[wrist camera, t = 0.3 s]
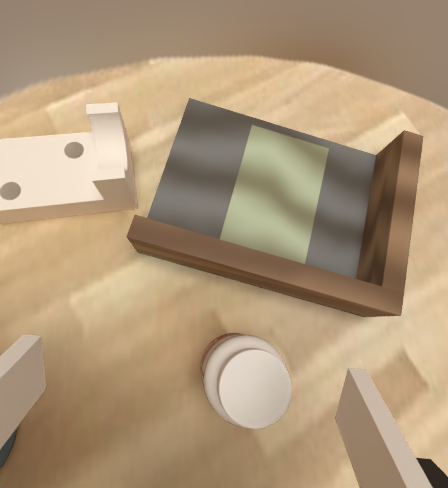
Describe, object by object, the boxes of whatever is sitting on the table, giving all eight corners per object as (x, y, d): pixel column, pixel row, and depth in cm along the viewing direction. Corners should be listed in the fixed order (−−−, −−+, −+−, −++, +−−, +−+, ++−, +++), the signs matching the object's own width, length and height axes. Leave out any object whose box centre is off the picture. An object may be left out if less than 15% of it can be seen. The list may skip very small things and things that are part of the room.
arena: (364, 316, 33) (401, 315, 28) (137, 252, 32) (126, 236, 27) (387, 164, 38) (423, 136, 32) (189, 103, 37) (189, 63, 31)
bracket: (131, 148, 35) (117, 102, 28) (138, 209, 34) (124, 177, 27) (3, 159, 34) (-49, 113, 26) (3, 224, 32) (-51, 195, 25)
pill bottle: (269, 395, 31) (312, 434, 20) (204, 406, 30) (213, 453, 19) (259, 328, 32) (294, 331, 21) (196, 337, 31) (201, 344, 21)
